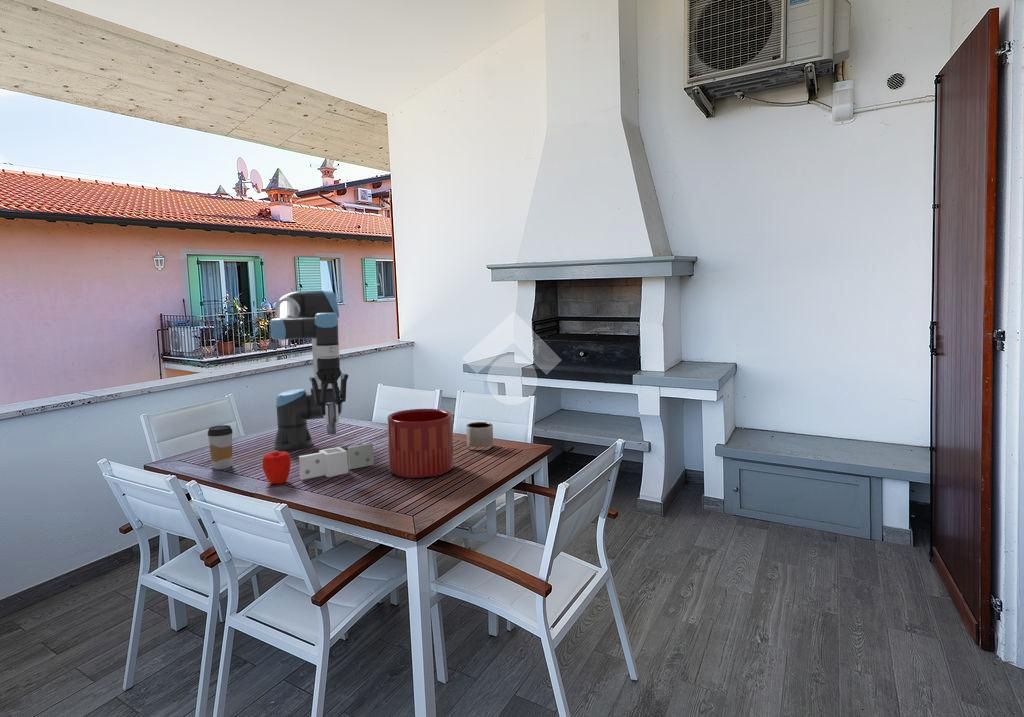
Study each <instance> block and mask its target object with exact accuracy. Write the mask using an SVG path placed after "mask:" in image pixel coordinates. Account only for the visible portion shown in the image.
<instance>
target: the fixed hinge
mask: <svg viewBox="0 0 1024 717" xmlns="http://www.w3.org/2000/svg"><path fill="white" fill-rule="evenodd" d="M298 463H299V464H298V466H299V479H300V480H301V481H302V480H307V479H313V478H318V477H323V476H325V477H327V478H331V477H336V476H341V475H345V474H348V473H349V467H348V450H345V449H344V448H342V447H341V446H336V447H330V448H324V449H321V450H320V449H319V450H318V452H315V453H309V454H304V455H299V456H298Z"/></svg>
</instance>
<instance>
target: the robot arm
mask: <svg viewBox="0 0 1024 717" xmlns="http://www.w3.org/2000/svg"><path fill="white" fill-rule="evenodd" d="M274 312H275V315H276V318H271V319H270V321H269V322H270V324H269V326H270V327H269V328H270V337H271V339H272V340H280V341H283V340H300V339H302V340H303V339H304V340H305V339H307V340H308V339H309V340H310V339H311V347H312V348H311V349H312V369H313V376H310V377H309V379H308V380H309V381H310V383H311V386H310V391H306V389H304V388H296V389H291V390H286V391H283V392H281V393H278V394H277V396H276V397H275V400H276V401H275V402H276V404H275V407H276V420H277V421H276V422H277V429H276V434H275V438H274V440H273V446H274V449H276V450H278V451H279V450H280V451H289V450H290V451H292V450H299V449H305V448H308V447H310V446H312V445H313V437H312V434H311V432H310V430H309V428H308V421H309V420H311V421H312V420H322V419H323V424H325V425H326V426H327V425H328V424H329V420H328V406H326V403H329V402H334V403H335V418H336V424H340V421H339V419H340V416H341V414H342V411H343V403H344V402H347V401H346V399H347V382H348V378H349V374H347V373H343V372H342V370H341V364H340V357H339V356H340V344H339V343H340V342H339V320H338V319H339V318H340V313H339V304H338V301H337V297H336V294H335V292H333V291H329V290H309V291H307V290H304V291H302V290H301V291H300V290H298V291H297V290H295V291H292V292H289V293H287V294H284V295H282V296H281V297H280V298H278V299H277V300H276V303H275V304H274ZM339 378H340V385H339V383H338V380H339Z"/></svg>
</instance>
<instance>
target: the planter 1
mask: <svg viewBox="0 0 1024 717" xmlns="http://www.w3.org/2000/svg"><path fill="white" fill-rule="evenodd" d="M386 419H387V448H388V449H387V450H388V453H387V454H388V470H389V472H390V473H392V474H393V475H395V476H397V477H399V478H404V477H406V478H405V479H413V478H419V479H424V478H423V477H430V478H432V477H431V476H435V475H439V474H442V473H444V474H446V473H448V472H449V470H450V469H451V468H452V469H453V467H454V433H453V431H454V430H453V429H454V428H453V425H454V424H453V413H452V412H451V411H448V410H445V409H439V408H414V409H413V408H412V409H404V410H399V411H395V412H393V413H390V414H389V415H388V416H387V418H386ZM452 469H451V470H452ZM451 470H450V471H451ZM447 471H448V472H447ZM445 472H446V473H445ZM442 475H443V474H442ZM439 476H440V475H439ZM435 477H436V476H435Z"/></svg>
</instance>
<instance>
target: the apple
mask: <svg viewBox="0 0 1024 717" xmlns="http://www.w3.org/2000/svg"><path fill="white" fill-rule="evenodd" d="M291 463H292V459H291V455H290V453H289V452H287V451H283V450H280V451H279V450H278V451H272V452H269V453H266V454H265V455H264V456H263V458H262V470H263V473H264V475H265V477H266V479H267V481H268V482H269V483H270V484H274V485H275V484H277V485H278V484H283V483H285V482H287V480H288V479H289V477H290V476H289V475H290V471H291Z"/></svg>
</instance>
